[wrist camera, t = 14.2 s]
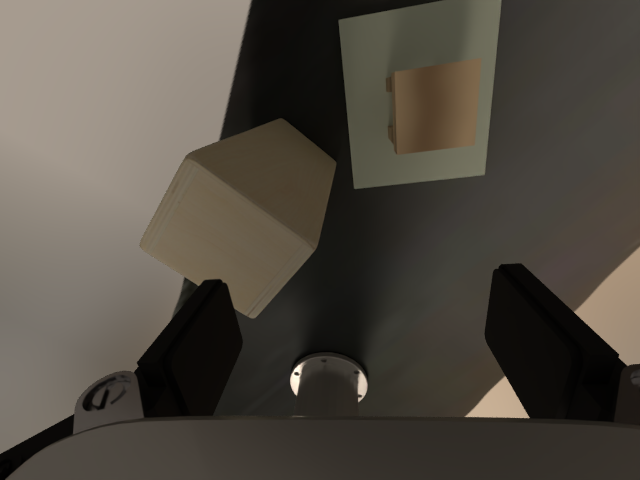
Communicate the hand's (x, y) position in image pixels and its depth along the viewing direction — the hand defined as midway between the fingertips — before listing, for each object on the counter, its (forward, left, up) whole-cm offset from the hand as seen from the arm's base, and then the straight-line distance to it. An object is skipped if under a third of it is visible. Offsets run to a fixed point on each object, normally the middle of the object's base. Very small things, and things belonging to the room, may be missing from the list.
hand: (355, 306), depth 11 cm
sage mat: (+5, -7, -26) cm, 27 cm away
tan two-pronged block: (+5, -7, -25) cm, 26 cm away
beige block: (0, +7, -26) cm, 27 cm away
